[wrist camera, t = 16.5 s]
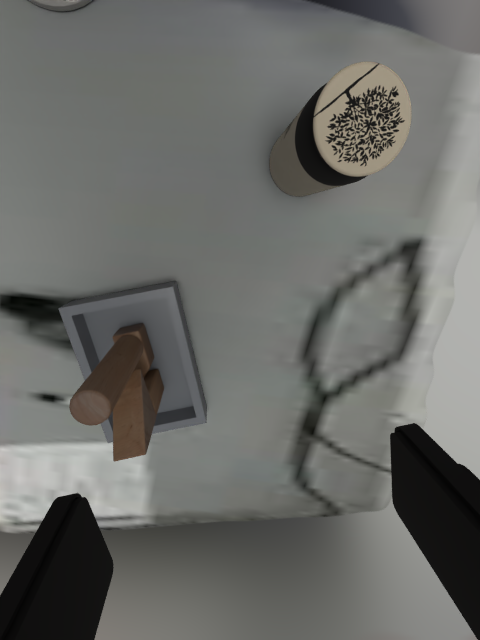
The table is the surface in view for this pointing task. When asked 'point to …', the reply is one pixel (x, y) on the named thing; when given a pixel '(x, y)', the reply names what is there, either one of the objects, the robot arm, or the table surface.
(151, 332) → the tray
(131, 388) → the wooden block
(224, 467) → the table surface
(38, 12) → the table surface
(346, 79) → the travel mug
